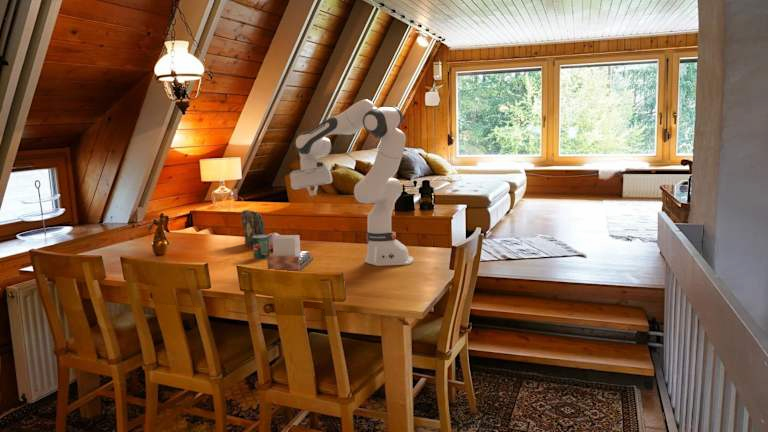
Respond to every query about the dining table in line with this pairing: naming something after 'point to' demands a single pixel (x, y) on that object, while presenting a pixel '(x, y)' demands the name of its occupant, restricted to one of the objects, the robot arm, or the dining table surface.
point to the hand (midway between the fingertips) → (313, 194)
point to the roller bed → (287, 263)
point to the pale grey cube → (286, 245)
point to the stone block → (252, 225)
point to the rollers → (304, 257)
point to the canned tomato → (261, 247)
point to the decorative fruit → (272, 239)
